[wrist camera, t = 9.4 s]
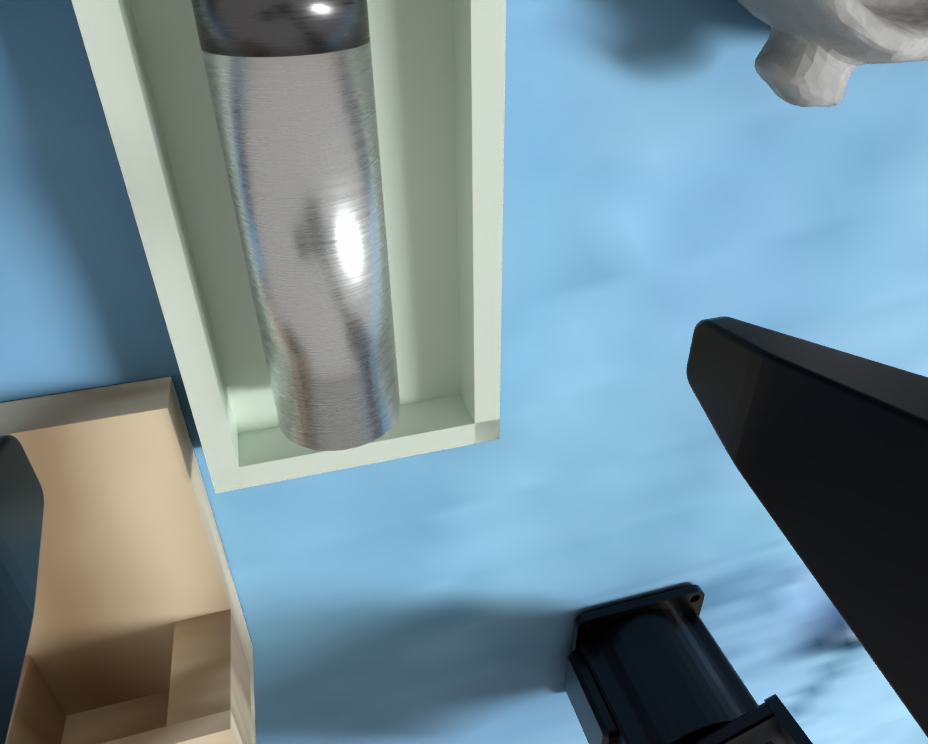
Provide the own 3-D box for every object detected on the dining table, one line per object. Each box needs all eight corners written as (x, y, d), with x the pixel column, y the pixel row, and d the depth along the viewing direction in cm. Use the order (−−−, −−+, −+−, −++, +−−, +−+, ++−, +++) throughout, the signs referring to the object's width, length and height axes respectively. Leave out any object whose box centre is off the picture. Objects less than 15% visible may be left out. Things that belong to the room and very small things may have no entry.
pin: (373, -49, 15) (348, -39, 12) (405, 377, 21) (393, 450, 18) (215, -46, 15) (154, -35, 12) (293, 378, 21) (264, 450, 18)
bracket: (171, 376, 20) (152, 519, 15) (253, 646, 27) (257, 801, 22) (-148, 426, 18) (-279, 604, 14) (29, 700, 25) (-18, 880, 21)
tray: (476, -185, 15) (509, -198, 13) (479, 399, 24) (499, 439, 22) (40, -190, 13) (10, -207, 11) (217, 446, 22) (215, 493, 20)
